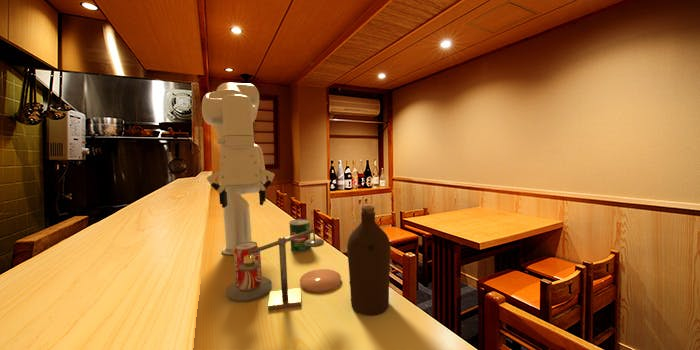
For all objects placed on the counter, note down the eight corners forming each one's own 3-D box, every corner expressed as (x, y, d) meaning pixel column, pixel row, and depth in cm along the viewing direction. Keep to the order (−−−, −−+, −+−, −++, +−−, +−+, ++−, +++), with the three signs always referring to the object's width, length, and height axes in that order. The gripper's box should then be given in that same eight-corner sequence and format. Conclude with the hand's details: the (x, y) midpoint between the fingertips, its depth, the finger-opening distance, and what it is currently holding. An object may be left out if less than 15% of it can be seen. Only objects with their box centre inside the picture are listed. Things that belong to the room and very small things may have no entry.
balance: (244, 299, 75) (239, 230, 73) (324, 289, 79) (322, 224, 77) (239, 314, 68) (234, 239, 66) (327, 302, 72) (324, 231, 70)
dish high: (299, 275, 88) (299, 271, 88) (337, 270, 90) (337, 267, 90) (300, 294, 76) (300, 290, 76) (344, 289, 79) (343, 285, 79)
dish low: (231, 282, 84) (231, 279, 84) (273, 278, 87) (273, 274, 86) (221, 304, 73) (221, 300, 72) (270, 298, 75) (269, 294, 75)
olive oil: (400, 307, 69) (399, 207, 67) (365, 323, 63) (363, 214, 61) (373, 289, 78) (371, 201, 75) (340, 302, 72) (337, 206, 70)
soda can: (254, 293, 75) (251, 250, 74) (230, 291, 77) (227, 249, 76) (266, 281, 82) (264, 241, 81) (244, 279, 84) (242, 240, 82)
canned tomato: (307, 244, 116) (306, 217, 115) (314, 250, 109) (312, 222, 108) (288, 247, 112) (286, 220, 111) (294, 254, 105) (292, 225, 104)
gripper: (200, 143, 70) (205, 210, 72) (271, 142, 74) (275, 206, 76) (208, 143, 78) (213, 204, 80) (273, 142, 81) (276, 200, 83)
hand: (243, 205), depth 78 cm, fingers open, 9 cm apart
